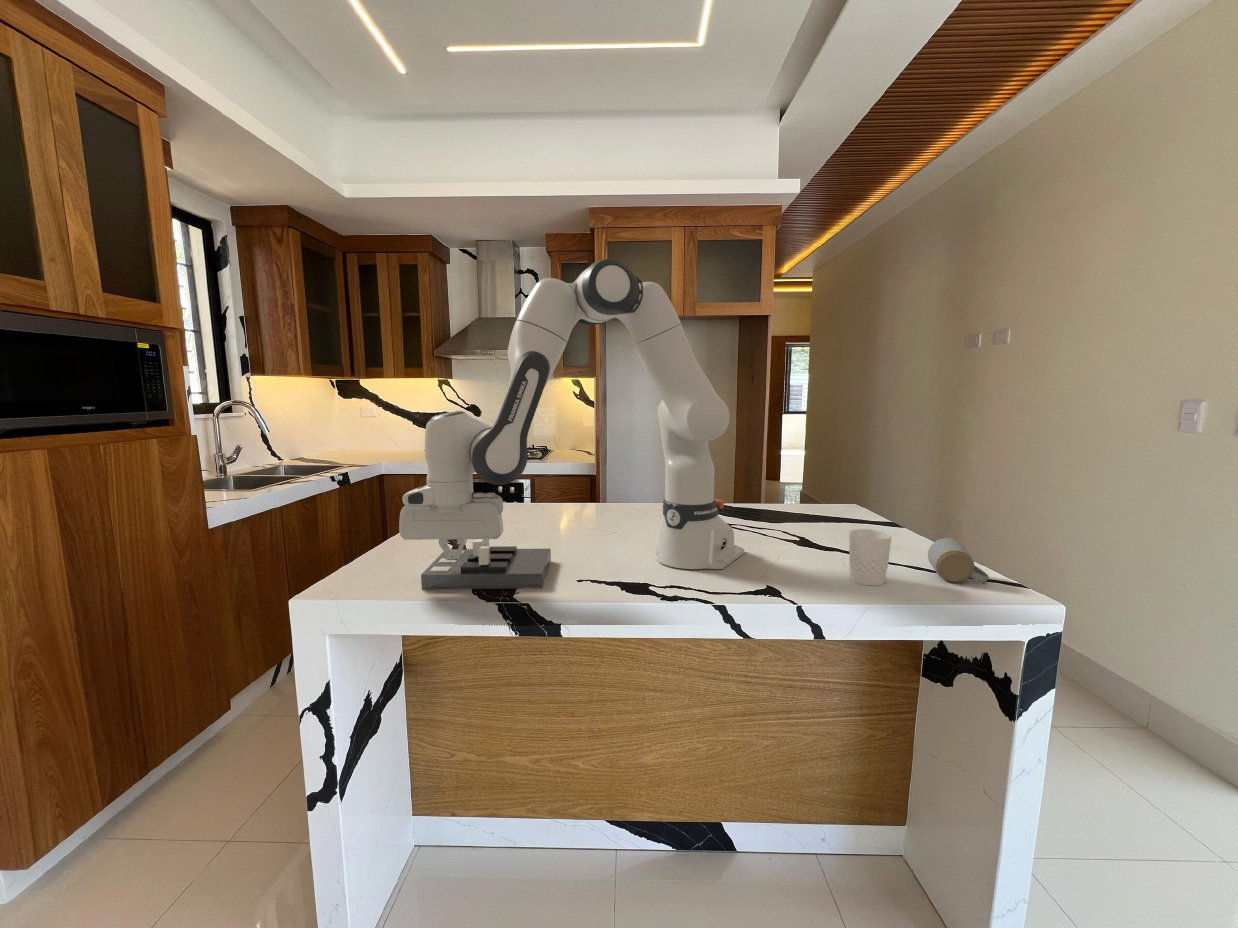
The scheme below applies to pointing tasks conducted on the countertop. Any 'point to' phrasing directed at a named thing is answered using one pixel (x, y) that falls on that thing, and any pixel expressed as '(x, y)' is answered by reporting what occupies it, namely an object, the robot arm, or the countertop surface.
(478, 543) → the block
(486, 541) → the white short rectangular block
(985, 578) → the ceramic mug
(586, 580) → the countertop surface
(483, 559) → the block
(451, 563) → the breaker panel
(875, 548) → the white cup
